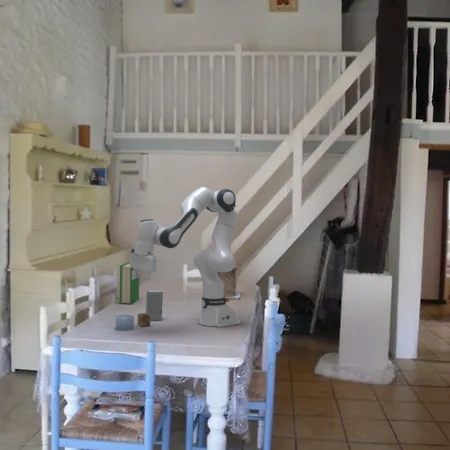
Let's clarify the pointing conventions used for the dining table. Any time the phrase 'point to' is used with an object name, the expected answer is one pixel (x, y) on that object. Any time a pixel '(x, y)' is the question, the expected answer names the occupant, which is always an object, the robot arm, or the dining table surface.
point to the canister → (124, 322)
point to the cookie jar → (229, 284)
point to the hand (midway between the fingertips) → (141, 279)
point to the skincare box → (154, 304)
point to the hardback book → (128, 284)
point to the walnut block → (144, 319)
